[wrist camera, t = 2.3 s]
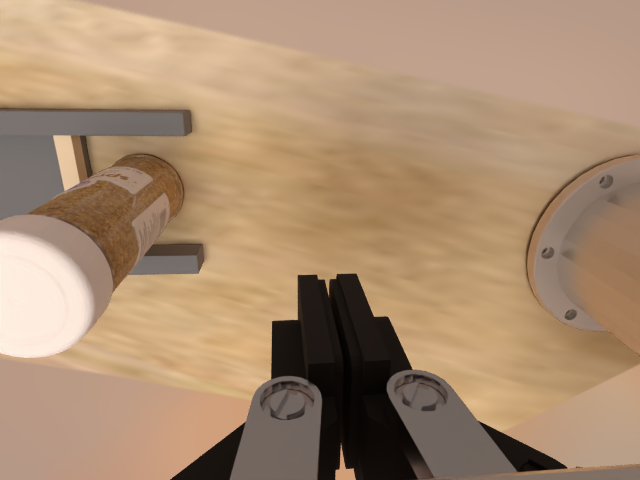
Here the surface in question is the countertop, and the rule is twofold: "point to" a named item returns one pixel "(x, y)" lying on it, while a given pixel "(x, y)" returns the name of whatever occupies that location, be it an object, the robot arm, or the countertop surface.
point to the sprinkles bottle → (79, 253)
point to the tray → (79, 164)
